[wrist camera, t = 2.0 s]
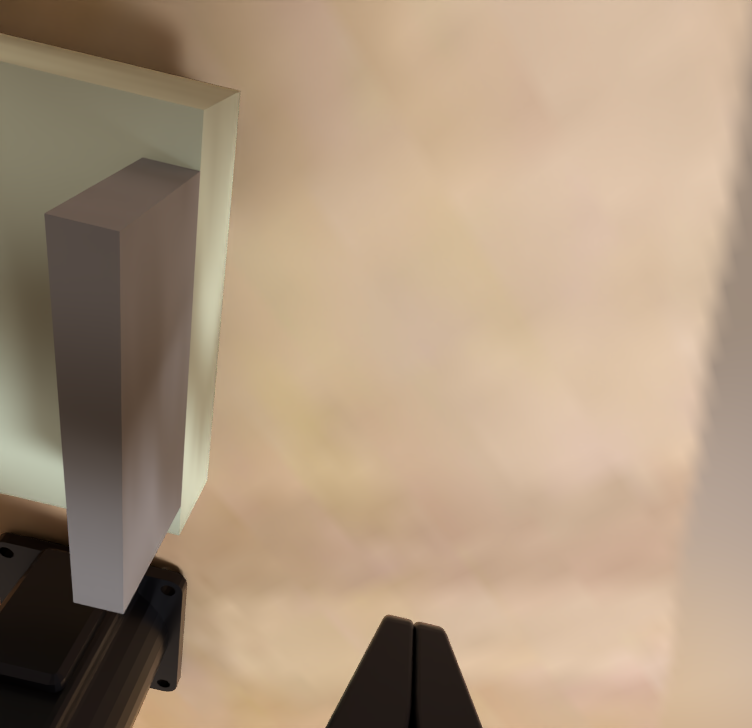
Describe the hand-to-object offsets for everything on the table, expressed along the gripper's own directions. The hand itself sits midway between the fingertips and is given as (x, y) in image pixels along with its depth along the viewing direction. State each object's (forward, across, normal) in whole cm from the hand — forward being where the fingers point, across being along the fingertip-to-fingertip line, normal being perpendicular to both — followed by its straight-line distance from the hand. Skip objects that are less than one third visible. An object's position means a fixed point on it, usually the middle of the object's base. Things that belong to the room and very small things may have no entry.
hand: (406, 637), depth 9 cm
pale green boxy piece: (+8, +9, 0) cm, 12 cm away
